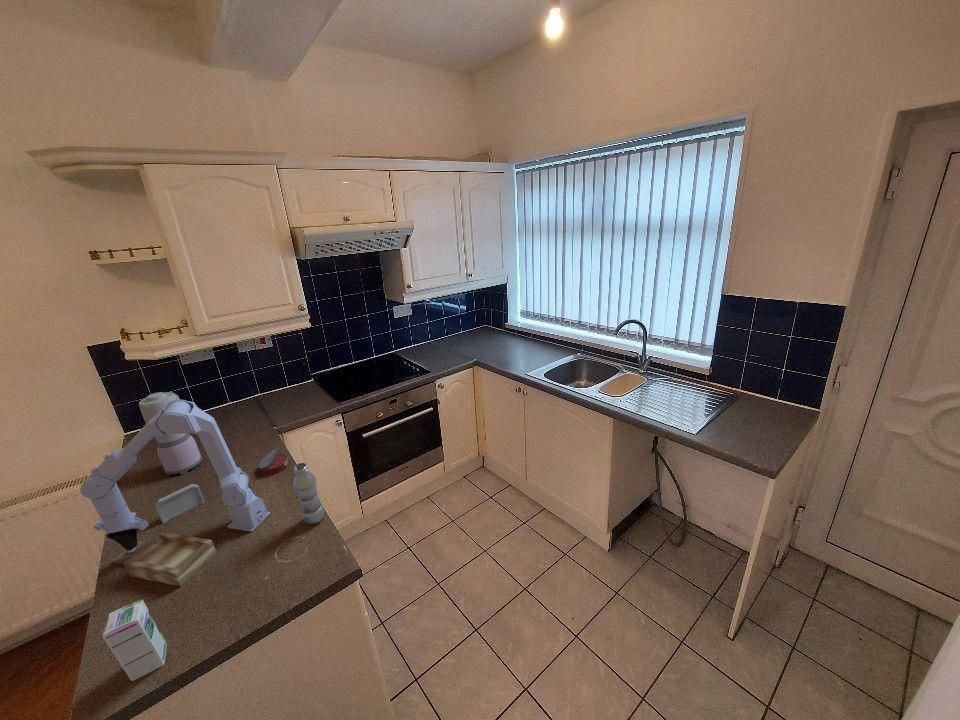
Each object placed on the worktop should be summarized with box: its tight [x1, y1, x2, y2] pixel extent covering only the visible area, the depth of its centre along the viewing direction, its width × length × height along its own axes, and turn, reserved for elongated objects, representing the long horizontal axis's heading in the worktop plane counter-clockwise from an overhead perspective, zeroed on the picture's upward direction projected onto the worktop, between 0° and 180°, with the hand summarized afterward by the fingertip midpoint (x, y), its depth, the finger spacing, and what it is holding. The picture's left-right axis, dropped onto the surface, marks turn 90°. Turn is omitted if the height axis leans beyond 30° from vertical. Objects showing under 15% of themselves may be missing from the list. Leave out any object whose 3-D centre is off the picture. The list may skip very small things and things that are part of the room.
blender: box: [138, 391, 203, 477], centre depth 150 cm, size 16×12×32 cm
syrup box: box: [102, 599, 168, 682], centre depth 81 cm, size 6×6×14 cm
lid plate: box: [111, 540, 157, 566], centre depth 113 cm, size 10×7×2 cm
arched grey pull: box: [154, 483, 206, 524], centre depth 128 cm, size 2×12×8 cm, turn 141°
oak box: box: [123, 531, 218, 587], centre depth 108 cm, size 18×11×5 cm, turn 76°
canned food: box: [258, 446, 289, 477], centre depth 148 cm, size 11×10×10 cm
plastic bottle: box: [292, 462, 325, 525], centre depth 118 cm, size 6×7×20 cm
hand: (132, 547), depth 111 cm, fingers closed
